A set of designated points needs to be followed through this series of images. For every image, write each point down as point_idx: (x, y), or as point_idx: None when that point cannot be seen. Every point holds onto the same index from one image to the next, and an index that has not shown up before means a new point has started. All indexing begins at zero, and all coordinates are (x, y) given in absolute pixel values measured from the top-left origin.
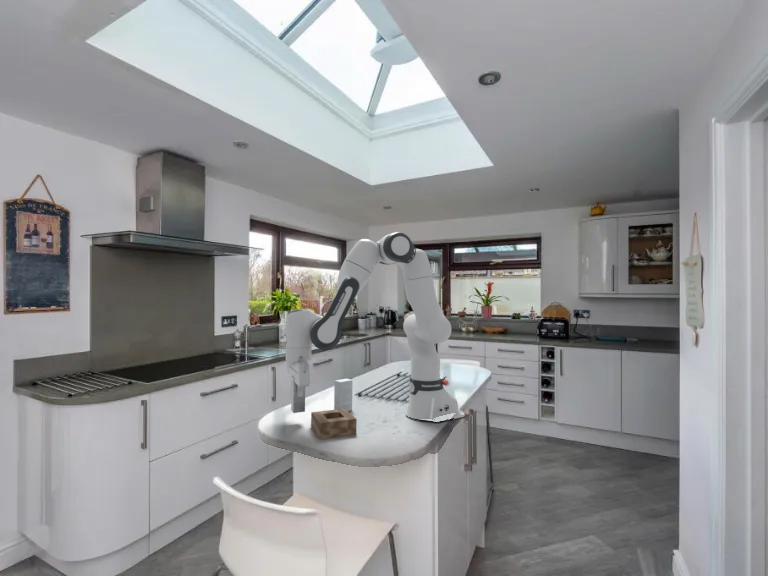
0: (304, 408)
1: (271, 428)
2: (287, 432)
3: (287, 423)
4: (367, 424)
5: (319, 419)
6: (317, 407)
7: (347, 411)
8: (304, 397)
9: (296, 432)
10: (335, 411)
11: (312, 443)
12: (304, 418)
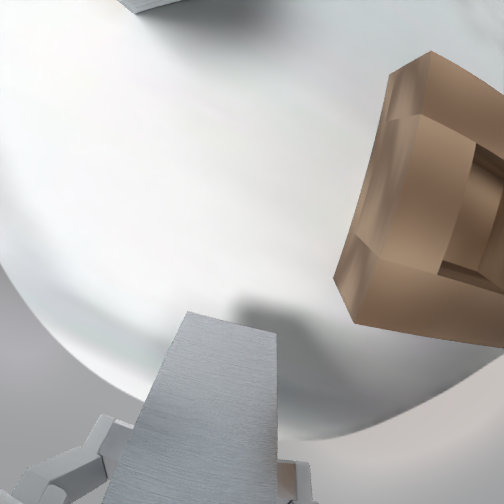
0: (274, 350)
1: None
2: (320, 390)
3: None
4: (460, 15)
5: (488, 335)
6: (29, 86)
7: (492, 92)
8: (276, 421)
9: (349, 363)
10: (455, 158)
11: (479, 349)
12: (160, 235)
